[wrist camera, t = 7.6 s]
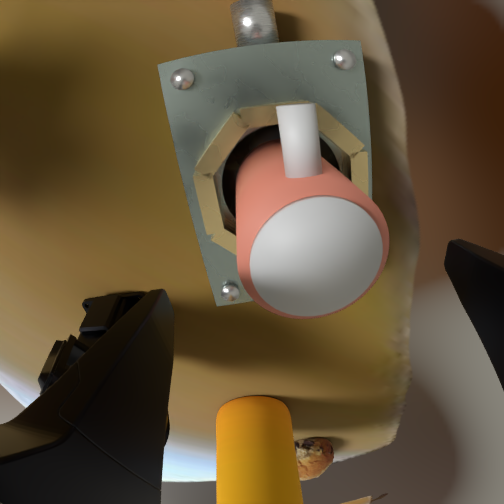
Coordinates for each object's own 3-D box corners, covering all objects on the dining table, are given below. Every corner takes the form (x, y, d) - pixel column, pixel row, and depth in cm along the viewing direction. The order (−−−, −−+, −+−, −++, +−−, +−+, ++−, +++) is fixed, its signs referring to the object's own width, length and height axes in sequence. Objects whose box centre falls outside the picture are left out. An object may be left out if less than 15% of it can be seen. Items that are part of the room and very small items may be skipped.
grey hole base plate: (354, 258, 23) (375, 292, 19) (218, 281, 24) (215, 320, 20) (335, 6, 14) (361, -12, 10) (161, 27, 14) (141, 11, 10)
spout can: (329, 218, 18) (385, 308, 11) (244, 232, 18) (251, 334, 11) (318, 94, 14) (395, 103, 7) (220, 107, 14) (205, 121, 7)
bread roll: (268, 437, 46) (266, 477, 42) (288, 438, 38) (285, 486, 33) (318, 437, 48) (317, 474, 43) (345, 435, 40) (344, 480, 35)
